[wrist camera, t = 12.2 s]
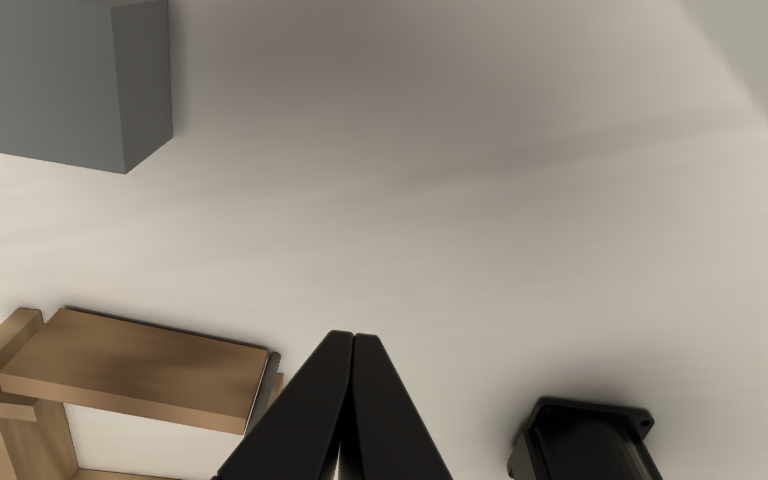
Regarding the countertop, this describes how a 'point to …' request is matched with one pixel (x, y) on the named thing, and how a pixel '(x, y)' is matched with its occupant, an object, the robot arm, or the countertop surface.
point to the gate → (138, 371)
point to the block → (85, 81)
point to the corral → (49, 424)
